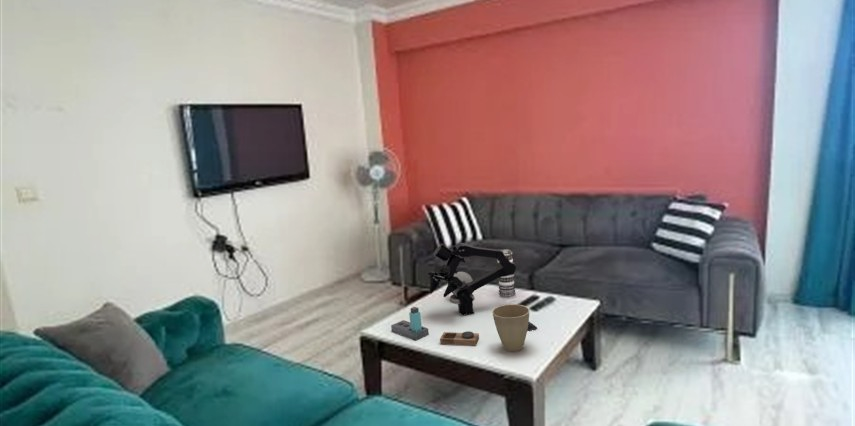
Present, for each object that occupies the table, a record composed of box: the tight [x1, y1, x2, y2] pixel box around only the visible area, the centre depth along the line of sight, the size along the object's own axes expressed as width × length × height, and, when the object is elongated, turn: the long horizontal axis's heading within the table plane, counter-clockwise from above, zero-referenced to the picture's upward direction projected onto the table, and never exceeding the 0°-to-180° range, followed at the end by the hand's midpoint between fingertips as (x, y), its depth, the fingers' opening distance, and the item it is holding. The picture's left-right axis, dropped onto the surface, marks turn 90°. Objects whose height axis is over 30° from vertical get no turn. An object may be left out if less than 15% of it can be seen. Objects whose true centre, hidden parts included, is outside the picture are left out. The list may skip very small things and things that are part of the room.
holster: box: [439, 331, 480, 347], centre depth 217 cm, size 7×16×4 cm, turn 73°
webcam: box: [449, 271, 476, 305], centre depth 268 cm, size 13×13×15 cm
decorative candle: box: [496, 248, 516, 300], centre depth 265 cm, size 9×9×25 cm
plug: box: [408, 306, 422, 333], centre depth 227 cm, size 4×4×13 cm
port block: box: [390, 319, 430, 341], centre depth 231 cm, size 8×17×3 cm, turn 43°
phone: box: [527, 321, 538, 332], centre depth 229 cm, size 8×1×15 cm
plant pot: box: [491, 304, 530, 352], centre depth 206 cm, size 15×15×16 cm
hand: (437, 295), depth 238 cm, fingers open, 9 cm apart
